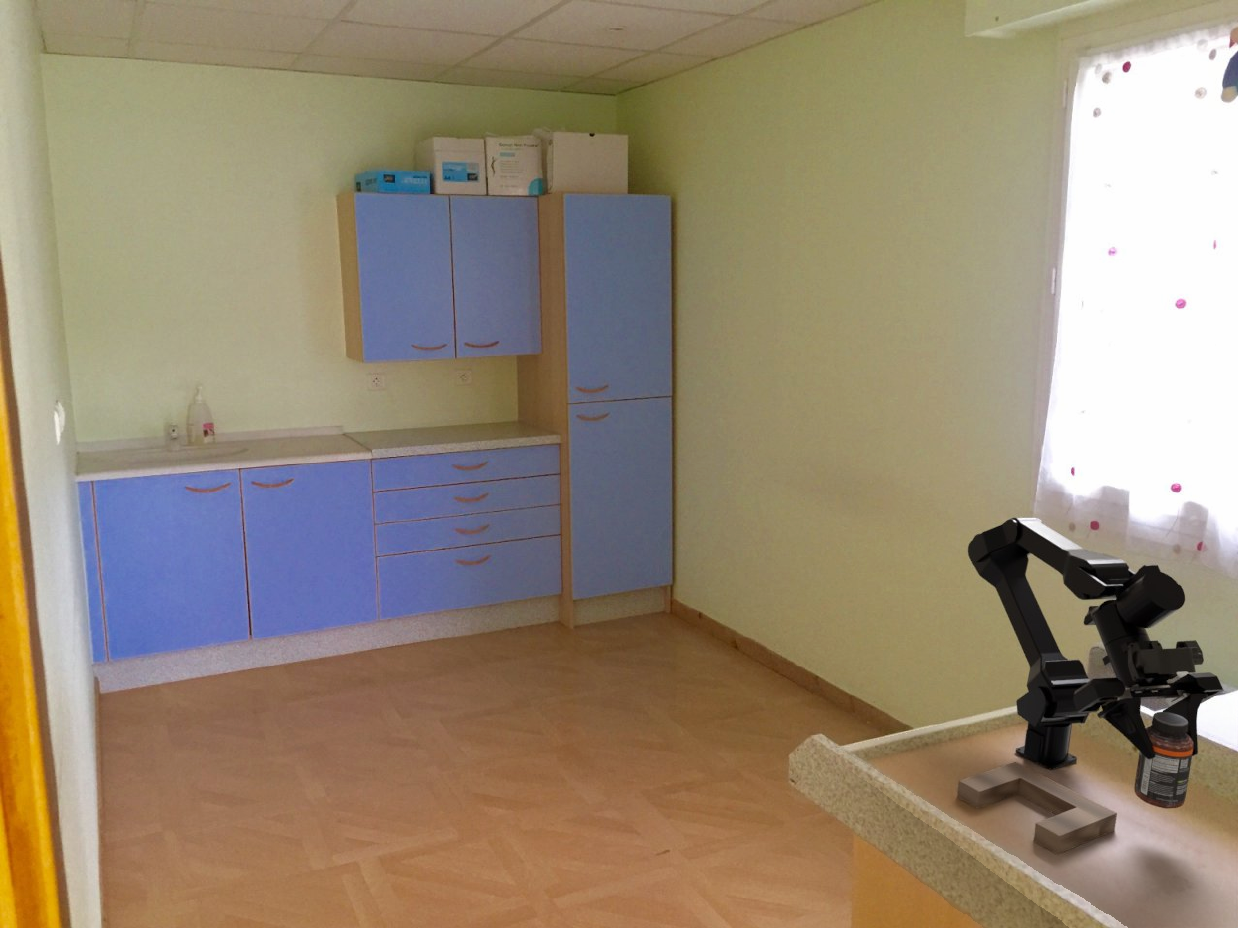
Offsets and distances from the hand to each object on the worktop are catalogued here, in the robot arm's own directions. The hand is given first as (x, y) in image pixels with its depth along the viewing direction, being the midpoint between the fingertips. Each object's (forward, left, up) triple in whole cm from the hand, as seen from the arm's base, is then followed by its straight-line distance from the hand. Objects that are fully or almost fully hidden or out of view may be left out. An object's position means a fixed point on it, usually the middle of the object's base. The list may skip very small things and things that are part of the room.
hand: (1173, 756), depth 132 cm
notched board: (+8, -13, -12) cm, 20 cm away
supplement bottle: (-1, -1, -7) cm, 7 cm away
